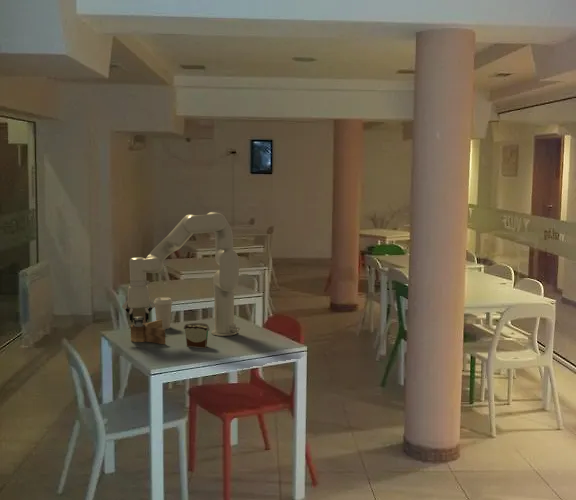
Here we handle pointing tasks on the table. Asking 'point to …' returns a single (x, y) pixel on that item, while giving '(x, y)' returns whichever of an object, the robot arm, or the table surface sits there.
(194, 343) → the food container
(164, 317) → the coffee cup
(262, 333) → the table surface
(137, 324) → the pin
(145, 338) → the hinge
